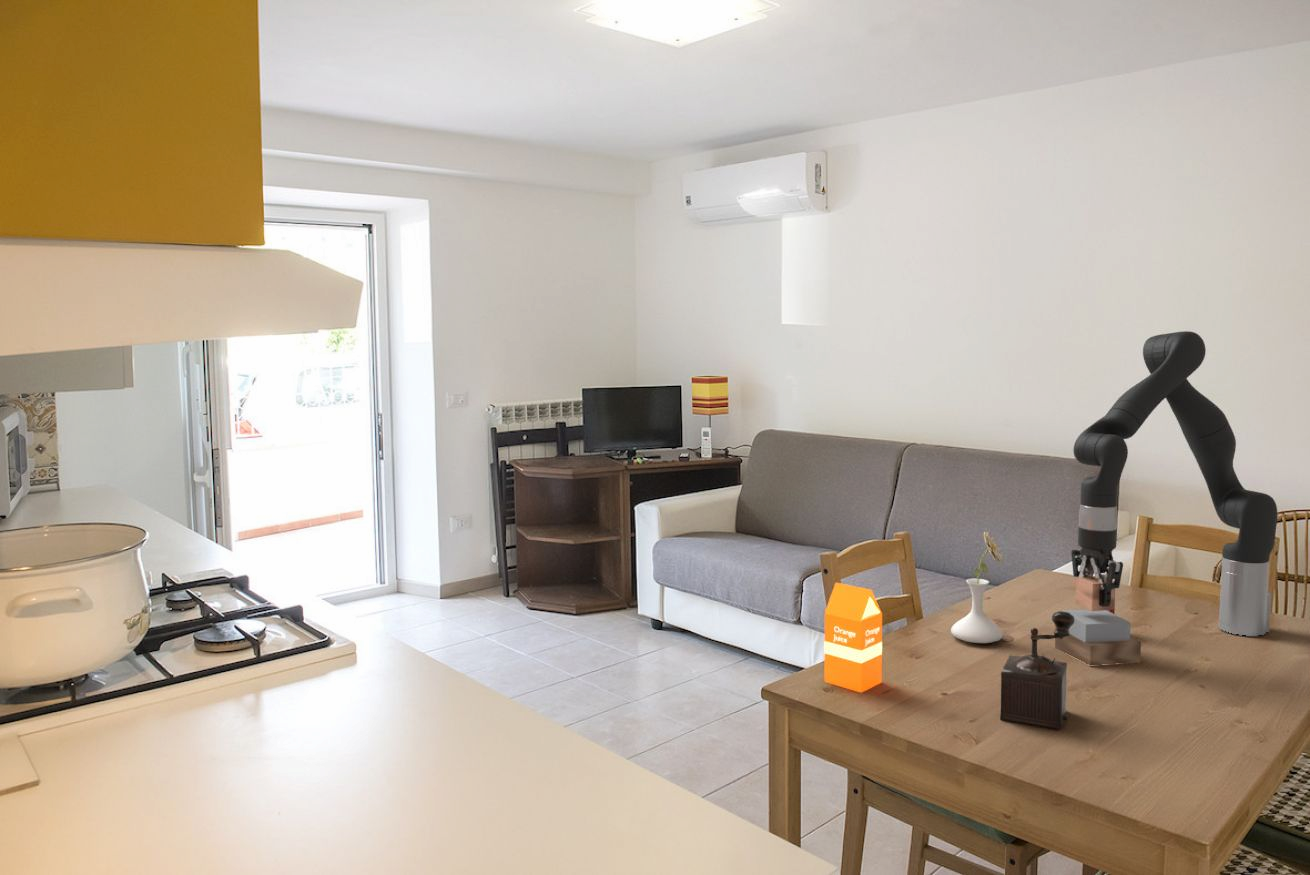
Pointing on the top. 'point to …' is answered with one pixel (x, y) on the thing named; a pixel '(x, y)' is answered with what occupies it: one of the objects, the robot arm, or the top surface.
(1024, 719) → the coffee grinder
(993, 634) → the flower in vase
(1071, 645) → the walnut base block
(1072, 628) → the grey top block
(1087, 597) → the terracotta block
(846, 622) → the orange juice
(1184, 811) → the top surface
